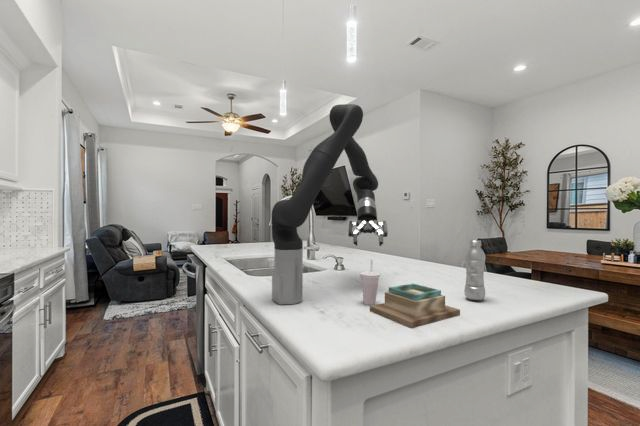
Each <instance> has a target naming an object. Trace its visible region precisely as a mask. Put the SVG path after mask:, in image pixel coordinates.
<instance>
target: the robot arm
mask: <svg viewBox="0 0 640 426" xmlns="http://www.w3.org/2000/svg"><path fill="white" fill-rule="evenodd" d="M328 115H329V123H330V125H331V128H332V129H333V131H334V132H333V133H332V134H330V135H329V136H328V137H327V138H325V139H323V140H322V141H321V142H319V143H318V144H317V145H316V146H314V148H313V149H312V151H310V154H309V156H308V157H307V159H306V161H304V165H303V167H302V168H303V169H302V173H301V174H302V175H301V178H300V179H301V180H300V183H299V184H298V186H297V188H296V190H295V191H294V193H293V194H292V195H291V197H290V198H289V199H281V200H278V201H277V202H275V204H274V205H273V206H272V207H273V208H272V210H271V236H272V240H273V244H274V271H272V272H271V300H272V302H274V303H276V304H278V305H279V306H281V305H297V304H299V303H301V302H302V301H303V297H304V296H303V288H304V287H303V281H304V280H303V279H304V278H303V272H304V271H303V267H304V265H303V264H304V263H303V261H304V260H303V255H304V253H303V252H304V248H303V246H304V245H303V239H302V238H301V237H300V236H299V234H298V228H299V227H301V226H302V225H303V224H304V223H305V222H306V220H307V218H308V216H309V214H310V211H311V210H312V207H313V206H314V203H315V200H316V198H317V197H318V194H319V193H320V191H321V190H322V188H323V186H324V184H325V182H326V181H327V179H328V177H329V176H330V174H331V173H332V171H333V169H334V168H335V166H336V164H337V161H338V160H339V158H340V157H341V155H342V153H343V151H344V152H345V154H346V156H347V159H348V162H349V165H350V168H351V171H352V173H353V175H354V176H356V178H354V179H353V181H352V188H353V190H354V192H355V194H356V196H357V197H356V199H357V205H356V219H357V220H356V221H355V222H354V221H353V220H349V221H348V237H350V238H351V237H352V241H353V242H352V243H353V245H355V246H357V247H358V237H359V236H360V235H361V234H362V233H363V234H368V233H369V234H372V233H373V234H374V235H375V236H377V237H378V244H379V247H381V246H382V245H383V244H384V238H387V237H388V232H389V229H388V224H387V221H386V220H382V221H381V222H380V221H378V213H377V205H376V197H375V191H376V190H377V189H378V187H379V180H378V178H377V176H376V175H375V174H374V172H373V171H372V169H371V168H370V164H369V160H368V158H367V155H366V153H365V151H364V149H363V148H362V146H361V145H360V144H359V143H358V142H357V141H356V139H355V138H354V135H355V134H356V133H357V132H358V131H359V129H360V127H361V125H362V122H363V119H364V111H363V109H362V107H361V106H360V105H358V104H354V103H353V104H351V103H347V104H345V103H343V104H335V105H333V106H332V108H331V109H330V111H329V114H328ZM355 227H356V229H355V230H354V231H353V229H354V228H355ZM380 228H381V229H382V230H381V229H380Z"/></svg>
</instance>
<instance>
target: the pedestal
mask: <svg viewBox="0 0 640 426" xmlns="http://www.w3.org/2000/svg"><path fill="white" fill-rule="evenodd" d="M369 312H371V313H374V314H376V315H377V316H378V315H379V316H381V317H383V318H386V319H387V320H390V321H393V322H395V323H398V324H400V325H403V326H405V327H407V328H410V329H413V328H416V327H421V326H425V325H428V324H431V323H434V322H439V321H442V320H443V321H444V320H447V319H449V318H453V317H458V316H460V315H461V309H460V308H456V307H453V306H450V305H446V295H443V294H442V290H440V289H437V288H432V287H428V286H425V285H420V284H417V283H406V284H401V285H396V286H395V285H394V286H388V291H385V292H384V302H383V303H379V304H375V305H369Z"/></svg>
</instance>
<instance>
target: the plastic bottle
mask: <svg viewBox="0 0 640 426" xmlns="http://www.w3.org/2000/svg"><path fill="white" fill-rule="evenodd" d="M468 246H469V248H468V249H467V250H466V251H465V253H464V259H465V260H464V261H465V262H464V263H465V270H466V275H465V276H466V278H465V285H464V296H465V298H466V299H468V300H472V301H484V300H485V298H486V294H487V293H486V287H485V279H484V278H485V277H484V275H485V274H484V271H485V264H486V253H485V252H484V250H483V248H481V247H482V240H481V239H469V243H468Z"/></svg>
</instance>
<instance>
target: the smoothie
mask: <svg viewBox="0 0 640 426" xmlns="http://www.w3.org/2000/svg"><path fill="white" fill-rule="evenodd" d="M359 277H360V282H361V289H362V290H361V292H362V299H363V305H367V306H372V305H376V303H377V295H378V287H379V278H380V277H381V275H380V273H379V272H377V271H373V259H370V271H362V272H360V273H359Z"/></svg>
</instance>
